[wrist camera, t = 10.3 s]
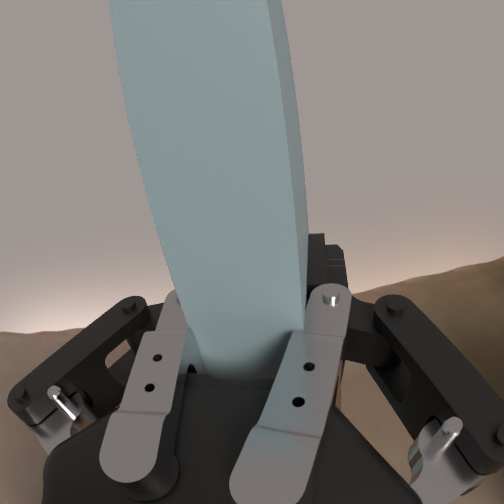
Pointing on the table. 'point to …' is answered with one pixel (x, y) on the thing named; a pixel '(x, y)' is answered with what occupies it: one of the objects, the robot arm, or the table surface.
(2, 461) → the table surface
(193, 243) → the panel
